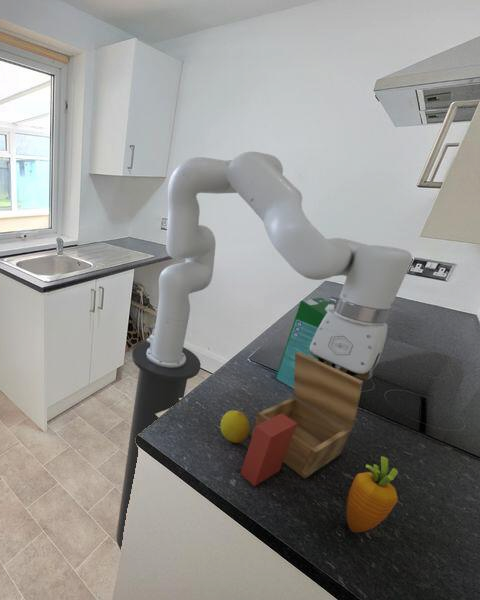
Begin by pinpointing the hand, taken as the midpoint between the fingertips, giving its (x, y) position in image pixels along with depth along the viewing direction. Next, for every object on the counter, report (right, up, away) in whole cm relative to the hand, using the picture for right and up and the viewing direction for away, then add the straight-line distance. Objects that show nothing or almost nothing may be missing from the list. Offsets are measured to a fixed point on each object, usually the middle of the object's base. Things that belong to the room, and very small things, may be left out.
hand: (328, 389), depth 66 cm
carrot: (-8, -19, -15) cm, 26 cm away
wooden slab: (-2, 0, -1) cm, 3 cm away
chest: (-6, -13, +2) cm, 14 cm away
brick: (-17, -15, -5) cm, 24 cm away
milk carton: (+11, -5, +24) cm, 27 cm away
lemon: (-20, -12, +2) cm, 23 cm away
